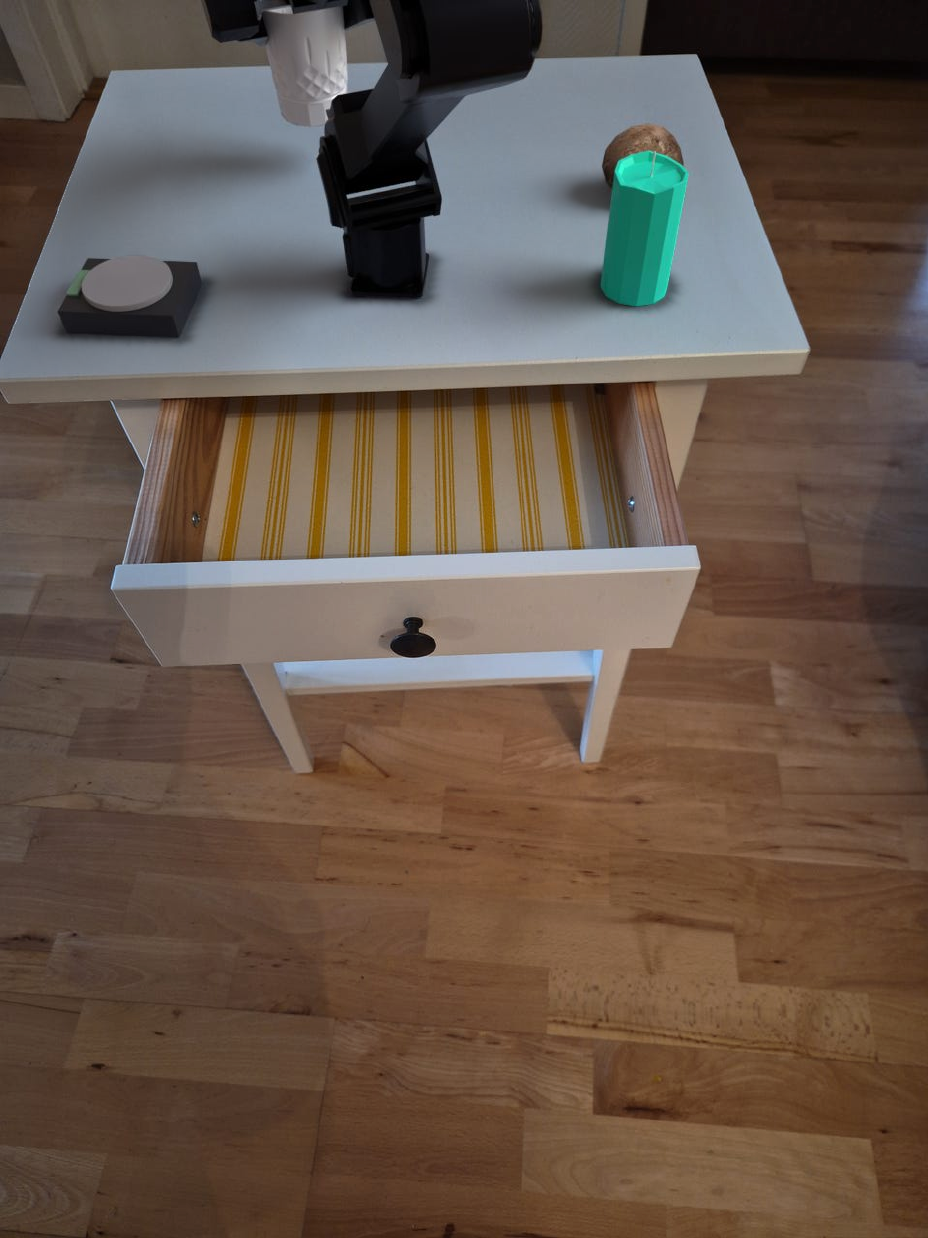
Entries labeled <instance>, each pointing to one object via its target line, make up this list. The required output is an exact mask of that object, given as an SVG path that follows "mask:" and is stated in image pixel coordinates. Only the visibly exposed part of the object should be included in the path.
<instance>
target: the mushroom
mask: <svg viewBox="0 0 928 1238" xmlns="http://www.w3.org/2000/svg"><path fill="white" fill-rule="evenodd" d="M645 151H652V152H654V151H656V153H659V154H662V155H665V156H668V157H669V158H671V159H673V160H674V161H676V162H678V163H679V164H681V165H682V166H683V167H685V162H684V157H683V153H682V148H681V147H680V145H679V143H678V141H677V140H676V137H675V136H674V134H673V133H671V132H670V131H669V130H668V129H667V128H665V126H661V125H658V124H657V125H656V124H654V123H649V122H648V123H642V124H637V125H632V126H630V127H628V128H627V129H625V130H623V131H622V132H620V133H618V134H617V135H616V136H615V137H614V138H613V139H612V140H611V142H610V143H609V144H608V146H607V147H606V148H605V150H604V154H603V158H602V163H601V169H602V172H603V177H604V180H605V183H606V184H607V186H608V187H609V189H610V190H611V191H612V188H613V180H614V172H615V169H616V166H617V163H618V161H619V160H621V159H623V158H625V157H627V156H629V155H632V154H636V153H641V152H645Z"/></svg>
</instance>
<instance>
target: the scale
mask: <svg viewBox="0 0 928 1238" xmlns="http://www.w3.org/2000/svg"><path fill="white" fill-rule="evenodd" d="M202 286H203V280H202V277H201V273H200V270H199V265H198V262H197V261H180V260H179V261H178V260H161V259H159V258H157V257H154V256H150V255H145V254H130V255H129V254H128V255H122V256H117V257H114V258H99V257H98V258H97V257H96V258H95V257H94V258H93V257H87V258H86V261H85V262H84V264H83V265H82V267H81V268H80V269H79V270H78V272H77V273H76V274H75V277H74V279H73V281H72V282H71V284H70V286H69V288H67V291H66V293H65V297H64V298H63V301H61V304H60V305H59V307H58V310H57V312H56V313H57V314H58V317H59V319H60V322H61V324H62V327H63V328H64V331H65V333H66V334H75V335H76V334H77V335H79V334H80V335H102V336H103V335H104V336H130V337H152V338H153V337H154V338H177V339H178V338H180V337H181V335H182V332H183V330H184V328H185V325H186V323H187V321H188V319H189V317H190V314H191V312H192V310H193V307H194V305H195V302H196V301H197V297H198V295H199V293H200V290H201V288H202Z"/></svg>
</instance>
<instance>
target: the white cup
mask: <svg viewBox="0 0 928 1238" xmlns="http://www.w3.org/2000/svg"><path fill="white" fill-rule="evenodd" d="M262 17H263V21H264V24H265V28H266V31H267V34H268V38H267V43H266V44H265V45H264V47H265V52H266V56H267V60H268V65H269V68H270V71H271V78H272V82H273V85H274V88H275V90H276V96H277V102H278V106H279V111H280V115H281V117H283V119H284V120H285V122H287V123H290V124H292V125H295V126H297V127H307V128H314V127H315V128H317V127H325V123H326V121H327V120H328V117H327V114H326V109H330V107H331V102H332V100H333V99H334V98H335V97H336V96H337V95H341V94H346V93H349V92H348V81H349V79H348V58H347V55H348V54H347V43H346V42H347V41H346V40H347V39H346V31H345V26H344V12H343V6H339V7H333V8H327V9H321V10H315V11H309V12H304V13H298V14H293V12H292V9H291V7H286V8H280V9H274V10H268V11H263V12H262Z"/></svg>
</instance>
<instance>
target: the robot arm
mask: <svg viewBox="0 0 928 1238" xmlns="http://www.w3.org/2000/svg"><path fill="white" fill-rule="evenodd" d="M200 2H201V3H200V4H201V6H202V9H203V12H204V16H205V20H206V22H207V26H208V29H209V33H210V36H211V38H213V40H216V41H217V42H218V43H219V44H223V43H227V42H234V41H236V42H238V43H243V42H249V43H253V44H256V45H257V46H259V47H265V44H266V43H267V38H268V34H267V31H266V28H265V24H264V21H263V17H262V12H263V11H268V10H274V9H280V8H286V7H291V9H292V12H293V14H298V13H304V12H309V11H315V10H321V9H327V8H333V7H339V6H343V12H344V26H345V32H348V31H350V30H353V29H355V28H358V27H360V26H364V25H366V24H369V23H372V22H375V24H376V28H377V32H378V35H379V37H380V41H381V45H382V49H383V52H384V56H385V58H386V61H387V65H386V67H385V68H384V70H383V72H382V73H381V74H380V77H379V79H378V80H377V81H376V84H375V86H374V87H373V88H369V89H363V90H358V91H357V90H356V91H352V92H348V93H346V94H341V95H337V96H336V97H335V98H334V99H333V100H332V102H331V107H330V109H326V114H327V117H328V120H327V121H326V123H325V126H323V128H324V130H323V133H324V135H321V136H320V137H319V143H318V144H319V148H318V155H317V157H316V164H317V168H318V172H319V175H320V179H321V182H322V187H323V191H324V196H325V199H326V204H327V209H328V215H329V216H328V217H329V223H330V224H331V226H332V227H334V228H339V229H342V230H343V233H342V243H343V250H344V258H345V265H346V272H347V273H346V274H347V277H348V278H349V279H352V280H351V284H350V294H351V295H352V296H355V297H376V298H377V297H379V298H380V297H381V298H405V299H420V298H422V297H423V296H424V292H425V287H426V281H427V275H428V271H429V266H430V265H429V264H430V254H429V253H427V250H426V249H427V248H426V230H425V229H426V228H425V227H426V226H425V218H428V217H437V216H440V215H441V211H442V202H443V197H442V196H443V195H442V192H441V188H440V185H439V180H438V177H437V174H436V169H435V166H434V162H433V158H432V154H431V150H430V146H429V143H428V138H429V137H430V136H431V135H432V134H433V133H434V132H435V130H436V129H437V128H438V127H439V126H440V125H441V124H442V123H443V121H444V120H445V119H446V118H447V117H448V116H449V115H450V114H451V113H452V112H453V111H454V109H455V108H456V107H457V106H458V105H459V104H460V103H461V102H462V100H463V99H464V98H465V97H467V96H469V95H474V94H478V93H481V92H485V91H489V90H493V89H498V88H501V87H506V86H508V85H511V84H514V83H517V82H520V81H523V80H524V79H526V78H527V77H528V76H529V73H530V72H531V70H532V68H533V66H534V63H535V60H536V54H537V53H538V51H539V50H540V47H541V44H542V39H543V26H544V25H543V12H542V6H541V2H540V0H200ZM412 182H415V183H414V184H410V185H406V186H401V187H396V188H391V189H387V190H382V191H376V192H372V193H368V194H362V195H358V196H353V197H349V198H348V196H349V195H354V194H358V193H364V192H369V191H372V190H373V191H374V190H378V189H384V188H387V187H392V186H393V187H394V186H398V185H403V184H406V183H407V184H408V183H412Z"/></svg>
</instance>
